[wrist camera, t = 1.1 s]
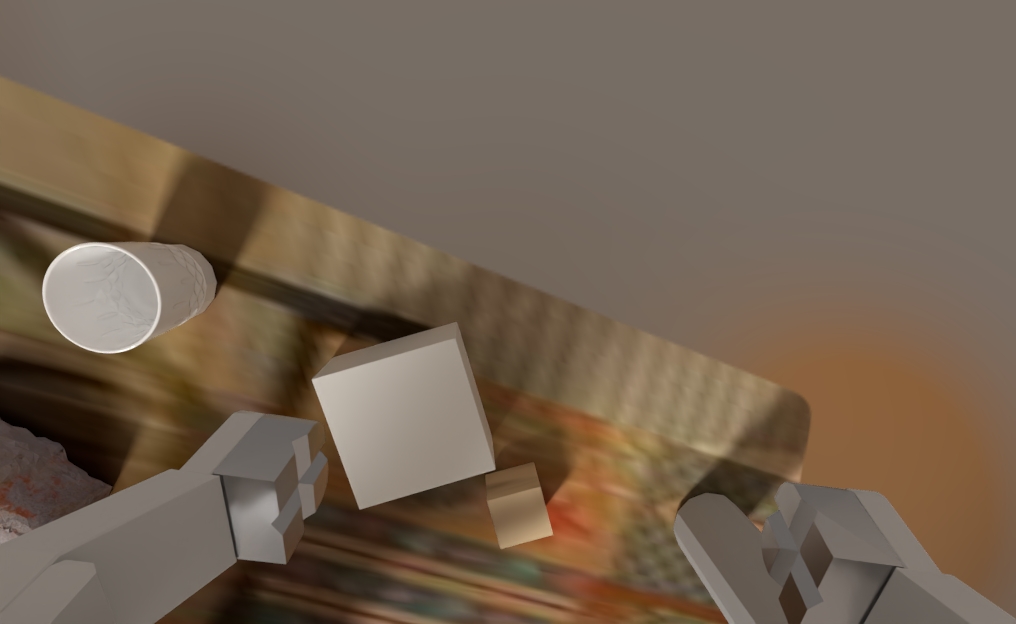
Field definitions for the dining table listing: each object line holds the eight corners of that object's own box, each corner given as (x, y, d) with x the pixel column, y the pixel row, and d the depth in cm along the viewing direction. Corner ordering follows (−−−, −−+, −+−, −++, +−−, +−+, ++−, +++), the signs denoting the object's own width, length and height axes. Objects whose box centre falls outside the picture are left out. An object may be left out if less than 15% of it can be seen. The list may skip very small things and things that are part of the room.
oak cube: (545, 505, 54) (553, 534, 49) (497, 518, 54) (500, 549, 49) (533, 461, 53) (540, 486, 48) (485, 474, 53) (486, 501, 48)
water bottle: (670, 558, 56) (829, 828, 31) (668, 489, 54) (834, 716, 30) (755, 548, 56) (977, 805, 32) (755, 480, 55) (988, 694, 30)
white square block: (492, 436, 52) (495, 469, 45) (373, 470, 52) (359, 509, 45) (456, 321, 50) (455, 338, 43) (333, 356, 50) (311, 379, 43)
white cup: (221, 238, 47) (155, 243, 37) (227, 325, 48) (165, 354, 38) (127, 235, 46) (34, 241, 36) (135, 324, 47) (49, 352, 38)
